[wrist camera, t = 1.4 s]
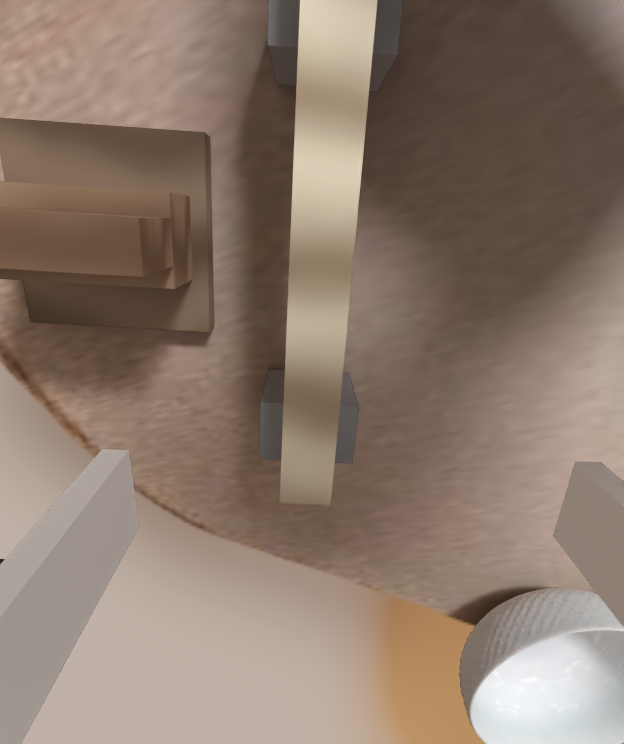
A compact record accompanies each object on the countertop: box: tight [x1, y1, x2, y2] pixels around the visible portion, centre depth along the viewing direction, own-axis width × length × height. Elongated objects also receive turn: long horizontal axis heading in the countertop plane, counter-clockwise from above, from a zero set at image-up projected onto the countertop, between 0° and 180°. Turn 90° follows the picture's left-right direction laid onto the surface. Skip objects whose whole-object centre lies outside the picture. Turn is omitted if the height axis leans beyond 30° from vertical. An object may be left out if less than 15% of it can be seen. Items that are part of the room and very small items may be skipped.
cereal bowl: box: [459, 588, 624, 744], centre depth 37 cm, size 17×17×7 cm
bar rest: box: [260, 0, 403, 464], centre depth 25 cm, size 26×6×6 cm, turn 177°
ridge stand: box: [0, 118, 214, 332], centre depth 23 cm, size 12×12×10 cm
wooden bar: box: [280, 0, 377, 505], centre depth 21 cm, size 28×3×3 cm, turn 177°
